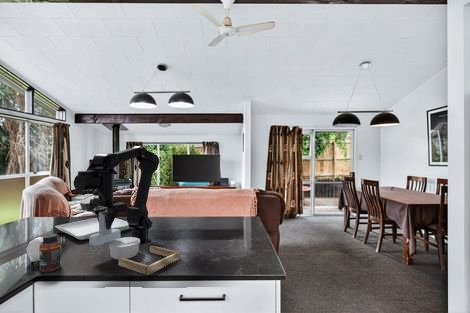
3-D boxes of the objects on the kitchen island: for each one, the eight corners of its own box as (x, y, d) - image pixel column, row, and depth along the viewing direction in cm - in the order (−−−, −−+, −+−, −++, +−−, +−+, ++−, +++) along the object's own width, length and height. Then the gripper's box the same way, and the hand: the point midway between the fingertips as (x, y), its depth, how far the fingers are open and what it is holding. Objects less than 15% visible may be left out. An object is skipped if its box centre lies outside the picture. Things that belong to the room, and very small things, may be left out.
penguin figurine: (24, 239, 91) (49, 232, 103) (23, 264, 90) (48, 254, 102) (42, 239, 91) (65, 232, 103) (41, 264, 90) (64, 254, 102)
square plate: (77, 244, 112) (77, 235, 112) (54, 232, 129) (54, 225, 129) (134, 230, 134) (134, 222, 134) (108, 221, 150) (108, 215, 150)
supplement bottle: (65, 265, 90) (65, 232, 90) (53, 272, 84) (53, 238, 84) (47, 265, 90) (47, 232, 90) (34, 273, 84) (34, 238, 84)
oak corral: (151, 251, 103) (151, 245, 103) (179, 258, 96) (179, 252, 96) (118, 265, 90) (118, 258, 90) (148, 275, 83) (148, 267, 83)
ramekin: (129, 262, 93) (129, 247, 93) (101, 259, 95) (101, 245, 95) (145, 251, 104) (145, 237, 104) (120, 248, 106) (120, 236, 106)
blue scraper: (89, 244, 94) (88, 214, 94) (113, 236, 103) (113, 208, 103) (96, 246, 92) (95, 215, 92) (120, 237, 101) (120, 209, 101)
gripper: (67, 188, 94) (68, 231, 95) (100, 192, 86) (101, 239, 86) (96, 184, 104) (97, 223, 105) (128, 187, 95) (129, 230, 96)
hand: (105, 228), depth 98 cm, fingers closed on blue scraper, 3 cm apart
